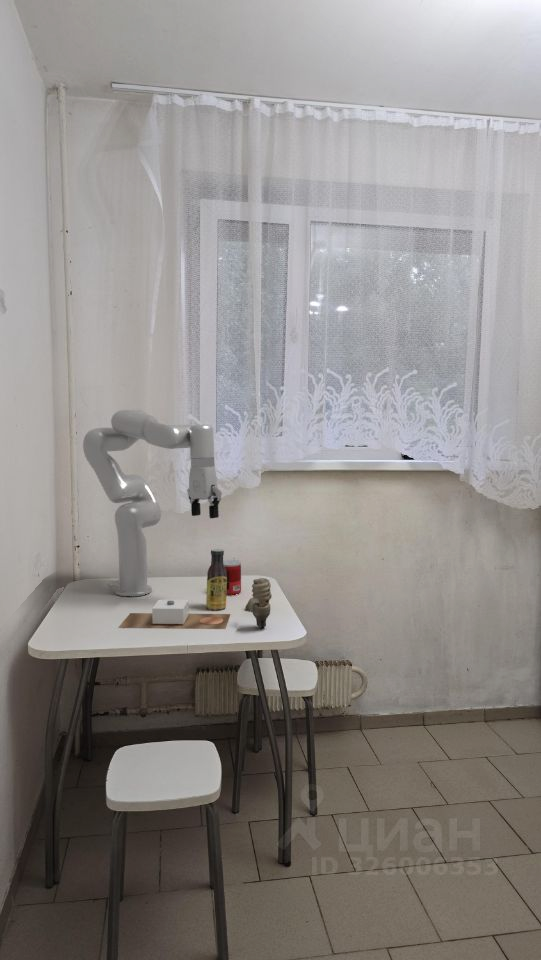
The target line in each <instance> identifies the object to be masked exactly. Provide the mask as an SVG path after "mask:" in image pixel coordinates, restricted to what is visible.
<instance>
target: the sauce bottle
mask: <svg viewBox="0 0 541 960" xmlns="http://www.w3.org/2000/svg"><path fill="white" fill-rule="evenodd" d="M224 554H225V550H224V549H223V548H212V549H211V550H210V555H211V561H210V566H209V568H208V570H207V576H206V601H205V602H206V604H205V605H206V606H205V607H206V611H209V612H220V611H224V610H225V609H226V607H227V596H226V585H227V576H226V568H225V567H224V564H223V560H224V556H225V555H224Z"/></svg>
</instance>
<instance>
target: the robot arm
mask: <svg viewBox="0 0 541 960" xmlns="http://www.w3.org/2000/svg"><path fill="white" fill-rule="evenodd" d="M110 420H111V421H110V423H111V426H112V427H98V428H94V429H93V428H92V429H91V430H89V431H88V432H86V434H85V435H84V438H83V441H82V442H83V443H82V448H83V453H84V457H85V458H86V461H87V462H88V464H89V465H90V467H91V468H92V469H93V471H94V473H95V475H96V476H97V479H98V481H99V483H100V484H101V487H102V489H103V490H104V493H105V495H106V497H107V498H108V499H109V501H110V502H111V503H114V504H122V505H120V506H119V507H117V509H116V510H115V513H114V522H115V526H116V531H117V540H118V543H117V544H118V572H119V573H118V574H119V575H118V576H119V579H117V580H113V579H112V580H110V579H108V580H107V587H110V588H111V587H112V588H114V587H115V588H116V589H115V590H114V592H115V595H117V596H120V597H127V596H130V597H131V596H132V597H139V596H140V595H141V596H145V594H146V595H148V593H149V594H150V593H152V590H153V588H152V586H150V585H149V584H148V561H147V560H148V557H147V556H148V553H147V540H146V537H145V534H144V532H143V530H142V529H144V528H149V527H152V526H155V525H157V524H158V523H159V522H160V521H161V518H162V511H161V510H162V509H161V507H160V505H159V502H158V501H157V499H156V497H155V495H154V493H153V492H152V489H151V488H150V486H149V483H148V482H147V480H146V479H144V478H143V477H142V476H141V475H138V474H125V473H124V472H123V471H122V469H121V466H120V464H119V463H118V461H117V460H116V459H115V458H114V457H113V456H112V455H110V454H109V453H108V452H123V451H125V450H127V449H129V448H131V447H132V446H133V445H134V444H135V443H136V442H138V441H139V440H142V441H145V442H146V443H148V444H149V445H151V446H155V447H159V448H163V449H167V450H168V449H169V450H171V449H172V450H173V449H174V450H175V449H187V448H190V451H189V453H190V468H189V469H190V470H189V474H188V475H189V477H188V488H187V490H186V492H187V495H188V499H189V503H190V505H191V506H190V508H191V516H192V517H196V516H201V515H202V514H201V502H200V501H201V500H203V501H204V500H207V501H208V503H209V505H208V511H209V518H210V519H216V518H219V513H220V512H219V505H220V502H221V500H222V498H221V497H222V494H223V492H222V491H221V490H220V488H218V479H217V478H218V477H217V472H216V468H215V467H216V466H215V444H214V442H215V440H214V428H213V426H212V425H210V424H194V425H192V424H165V423H161V422H159V421H158V419H157V418H156V416H153V415H150V414H148V413H147V412H146V411H144V410H141V409H121V410H118V411H116V412H115V413H114V414H113V415H112V416H111V419H110ZM123 503H124V504H123Z"/></svg>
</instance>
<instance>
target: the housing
mask: <svg viewBox="0 0 541 960" xmlns="http://www.w3.org/2000/svg"><path fill="white" fill-rule="evenodd" d="M151 613H152V620H153V624H184V622H185V620H186V618H187V617H188V615H189V614H190V612H189V600H188V599H158V600H157V602H156V603H155V605H153V607H152V611H151Z"/></svg>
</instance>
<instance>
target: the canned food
mask: <svg viewBox="0 0 541 960" xmlns="http://www.w3.org/2000/svg"><path fill="white" fill-rule="evenodd" d="M223 564H224V567H225V568H226V576H227V585H226V595H234V596H237V595H236V594H238V595H240V594H241V592H242V563H241V561H240V560H238V559H237V560H236V559H225V560H224V559H223ZM239 593H240V594H239Z"/></svg>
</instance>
